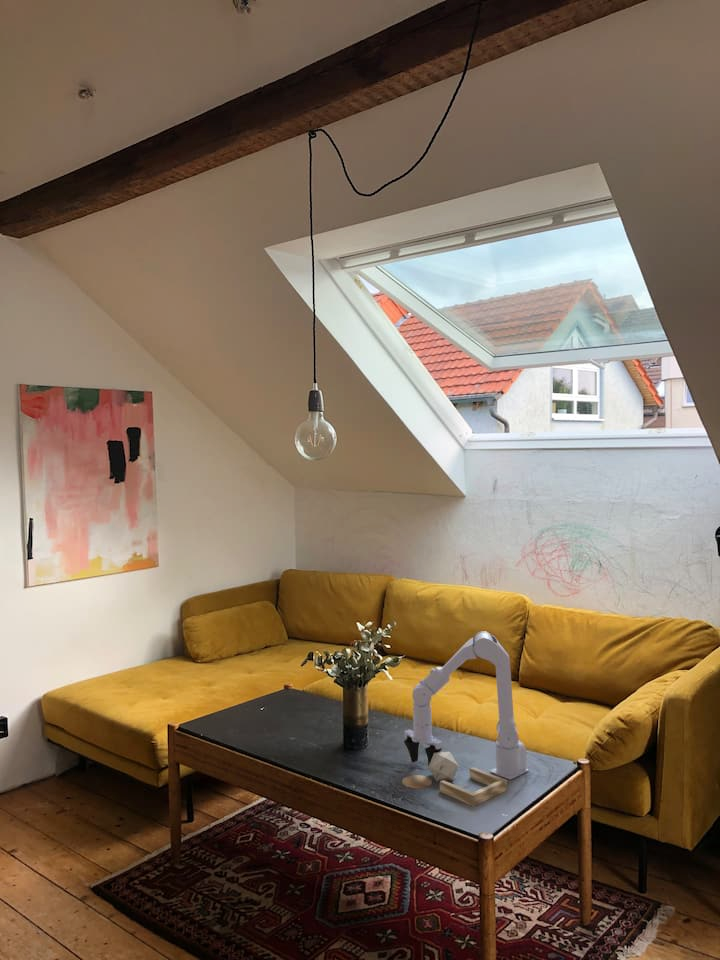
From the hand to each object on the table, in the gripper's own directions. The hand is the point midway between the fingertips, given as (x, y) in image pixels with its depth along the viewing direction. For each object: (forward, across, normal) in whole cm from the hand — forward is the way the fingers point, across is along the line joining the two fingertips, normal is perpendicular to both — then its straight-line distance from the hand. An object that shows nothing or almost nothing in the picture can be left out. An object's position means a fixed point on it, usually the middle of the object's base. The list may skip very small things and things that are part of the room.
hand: (423, 765), depth 245 cm
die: (+2, +9, 0) cm, 9 cm away
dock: (+2, +20, 0) cm, 20 cm away
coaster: (+2, +5, -8) cm, 9 cm away
